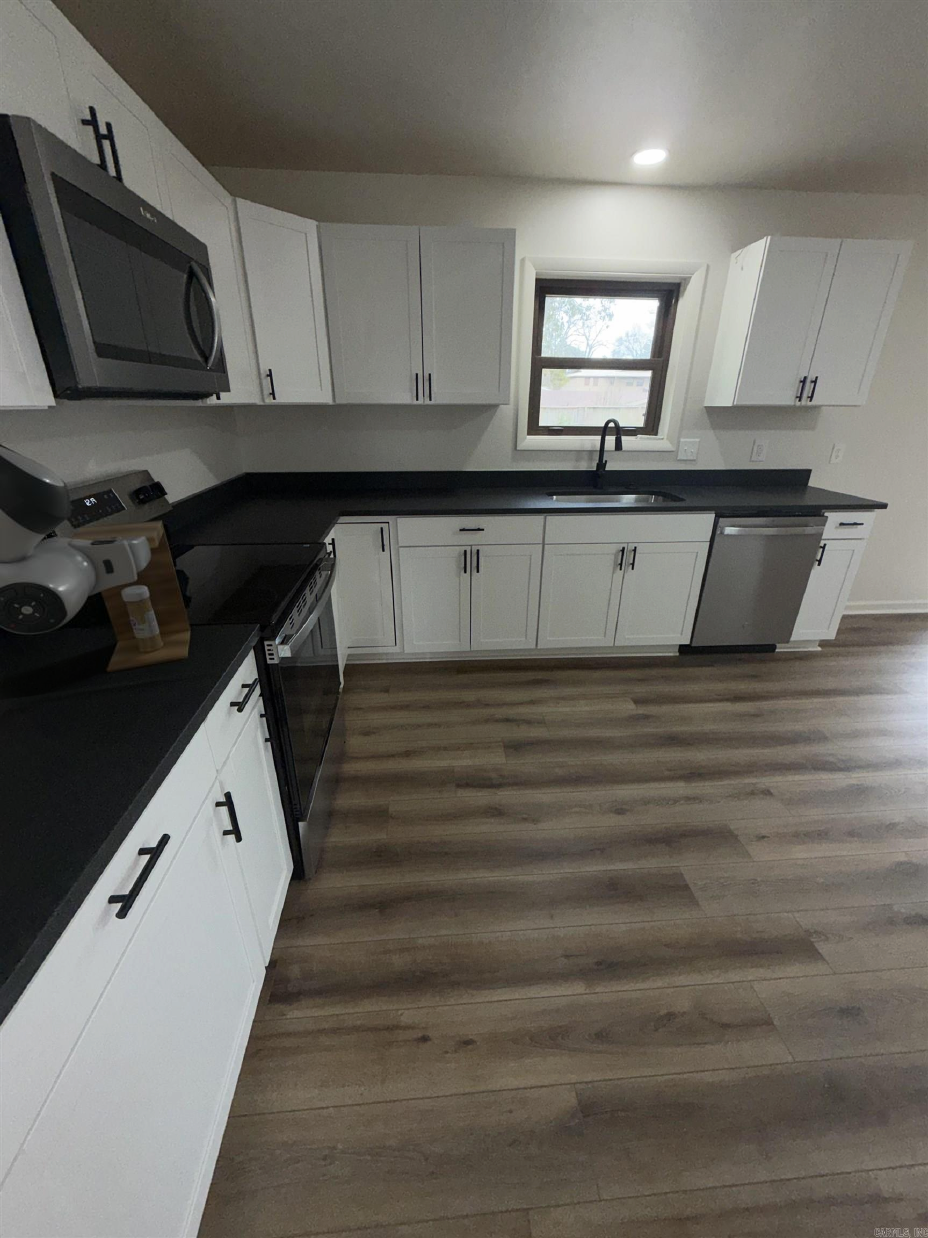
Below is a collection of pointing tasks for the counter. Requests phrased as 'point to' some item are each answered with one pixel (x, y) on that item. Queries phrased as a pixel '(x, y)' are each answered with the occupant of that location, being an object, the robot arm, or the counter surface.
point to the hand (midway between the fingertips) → (84, 544)
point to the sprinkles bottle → (142, 618)
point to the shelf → (161, 594)
